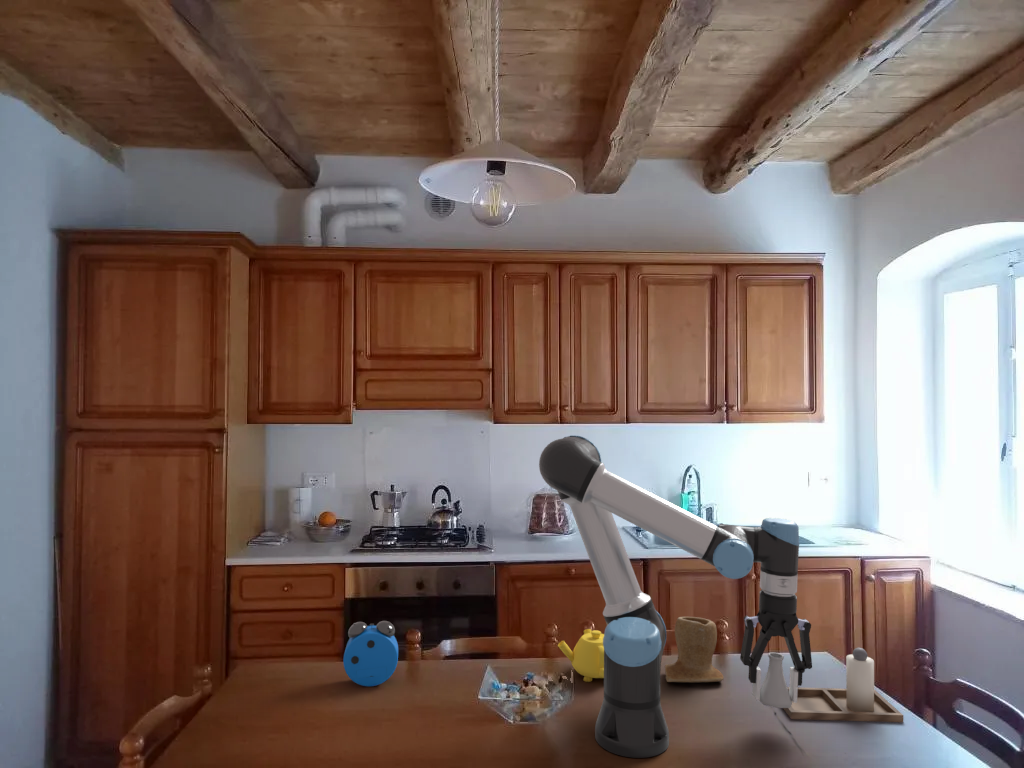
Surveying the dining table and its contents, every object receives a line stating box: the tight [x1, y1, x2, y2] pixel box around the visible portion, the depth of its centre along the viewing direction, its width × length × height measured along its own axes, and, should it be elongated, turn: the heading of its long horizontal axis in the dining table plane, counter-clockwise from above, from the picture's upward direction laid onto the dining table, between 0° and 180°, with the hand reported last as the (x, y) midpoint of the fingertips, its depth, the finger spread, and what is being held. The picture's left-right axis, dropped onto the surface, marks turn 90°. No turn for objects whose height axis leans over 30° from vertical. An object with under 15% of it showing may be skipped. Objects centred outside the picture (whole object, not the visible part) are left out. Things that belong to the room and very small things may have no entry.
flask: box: [759, 652, 792, 709], centre depth 146 cm, size 7×7×10 cm
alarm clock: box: [342, 620, 399, 687], centre depth 168 cm, size 13×6×15 cm, turn 98°
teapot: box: [557, 628, 604, 683], centre depth 174 cm, size 14×14×11 cm
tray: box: [782, 686, 904, 723], centre depth 155 cm, size 24×13×2 cm, turn 87°
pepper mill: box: [845, 647, 875, 712], centre depth 154 cm, size 6×6×14 cm
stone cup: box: [664, 616, 724, 683], centre depth 172 cm, size 15×12×15 cm
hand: (774, 698), depth 146 cm, fingers closed on flask, 7 cm apart
